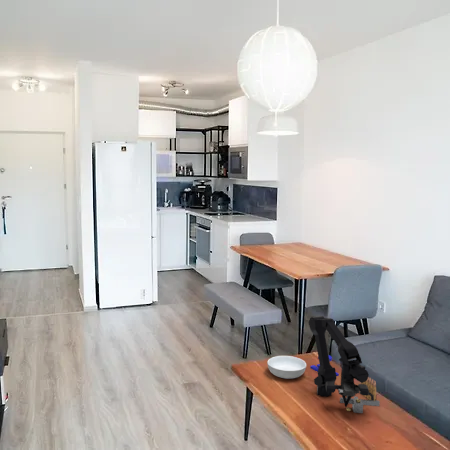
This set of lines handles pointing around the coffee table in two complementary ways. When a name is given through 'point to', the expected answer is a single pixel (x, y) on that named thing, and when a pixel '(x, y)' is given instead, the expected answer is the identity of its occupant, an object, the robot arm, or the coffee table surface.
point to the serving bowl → (286, 366)
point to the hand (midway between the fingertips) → (345, 406)
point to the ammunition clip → (370, 389)
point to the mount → (319, 365)
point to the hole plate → (365, 402)
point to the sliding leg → (357, 405)
